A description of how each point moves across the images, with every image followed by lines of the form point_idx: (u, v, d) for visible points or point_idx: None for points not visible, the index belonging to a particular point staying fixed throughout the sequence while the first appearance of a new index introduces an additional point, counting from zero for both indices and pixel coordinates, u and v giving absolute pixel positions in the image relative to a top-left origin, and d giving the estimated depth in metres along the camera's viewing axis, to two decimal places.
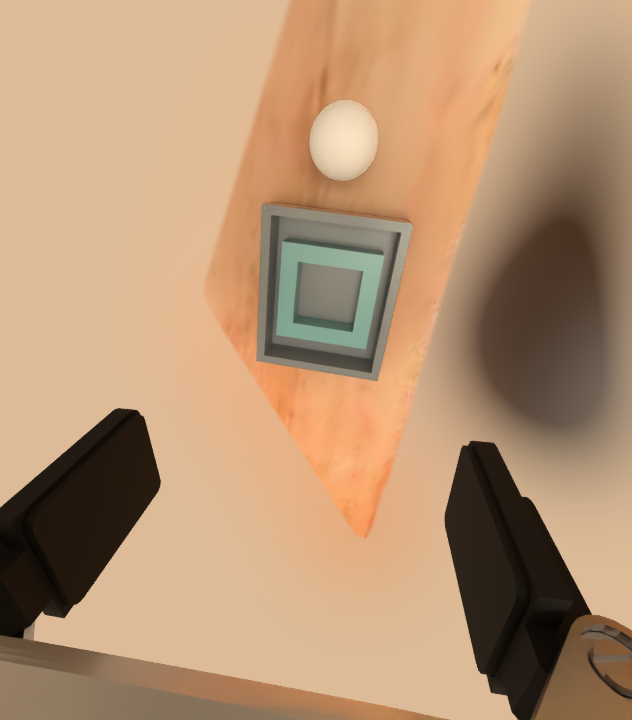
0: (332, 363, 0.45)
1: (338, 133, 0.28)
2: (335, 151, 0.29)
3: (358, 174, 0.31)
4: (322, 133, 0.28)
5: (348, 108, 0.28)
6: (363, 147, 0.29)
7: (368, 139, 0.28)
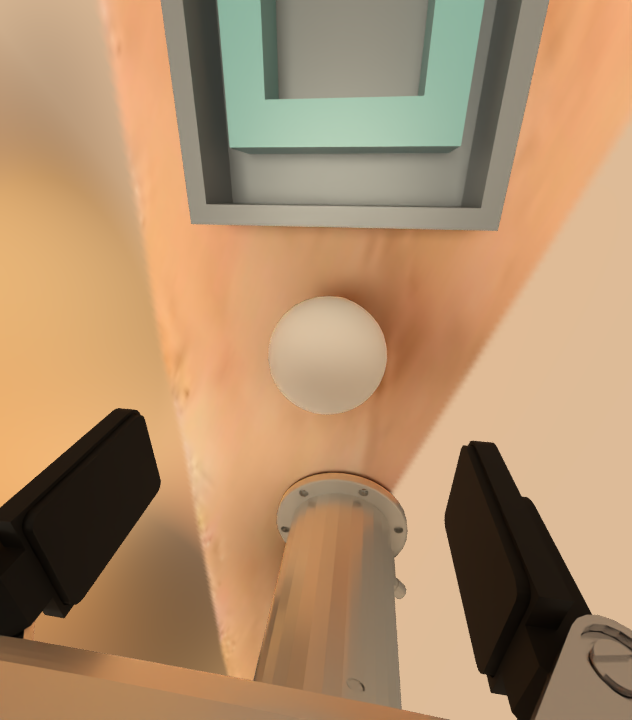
0: None
1: (324, 389, 0.15)
2: (327, 362, 0.15)
3: (290, 314, 0.16)
4: (356, 385, 0.16)
5: (317, 412, 0.17)
6: (281, 365, 0.16)
7: (276, 374, 0.16)
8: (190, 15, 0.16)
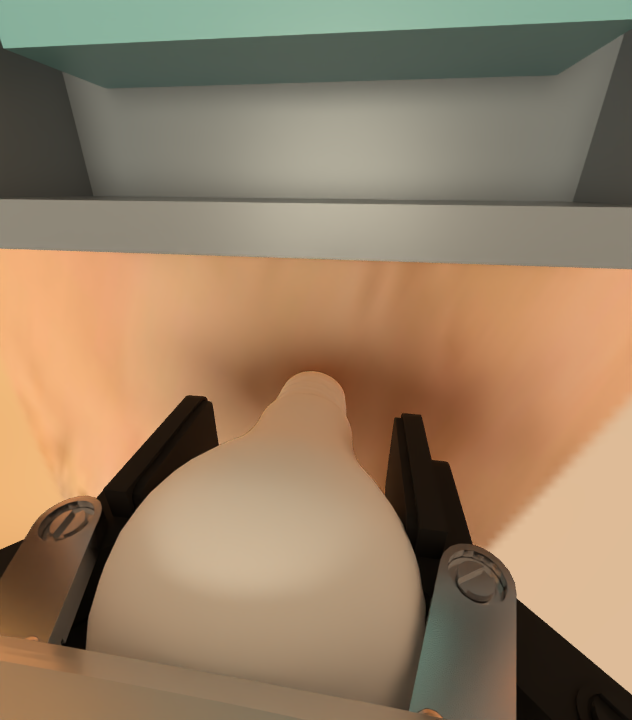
0: None
1: None
2: None
3: (137, 536, 0.05)
4: None
5: None
6: None
7: None
8: None
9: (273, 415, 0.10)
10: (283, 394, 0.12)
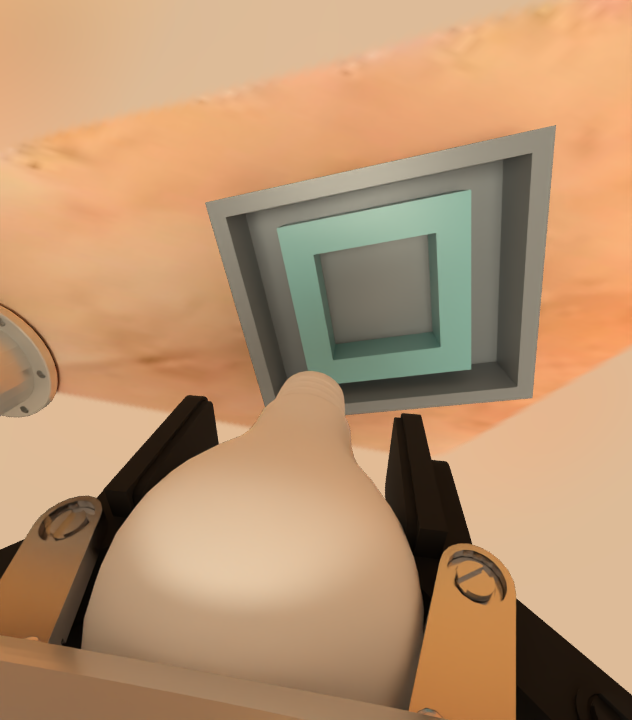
0: (519, 250, 0.21)
1: None
2: None
3: (133, 537, 0.05)
4: None
5: None
6: None
7: None
8: (354, 190, 0.20)
9: (271, 415, 0.10)
10: (282, 394, 0.12)
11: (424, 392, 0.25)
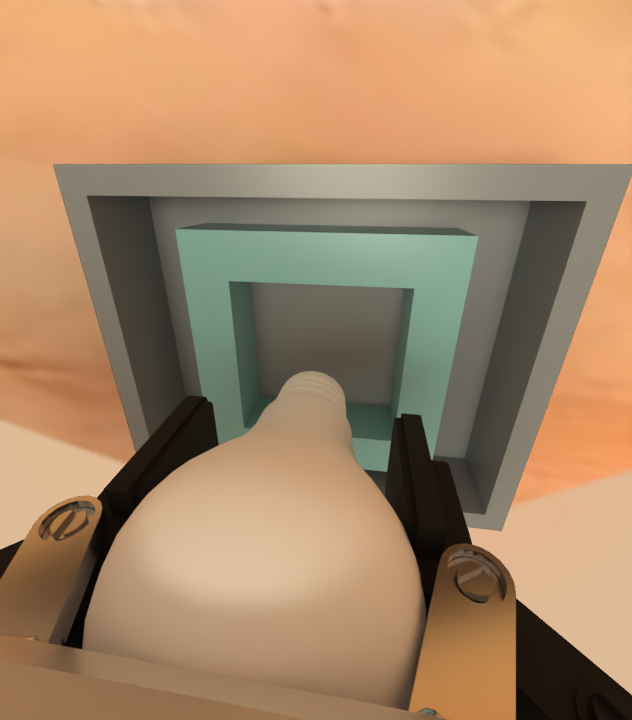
0: (528, 339, 0.14)
1: None
2: None
3: (134, 538, 0.05)
4: None
5: None
6: None
7: None
8: None
9: (272, 415, 0.10)
10: (282, 394, 0.12)
11: None
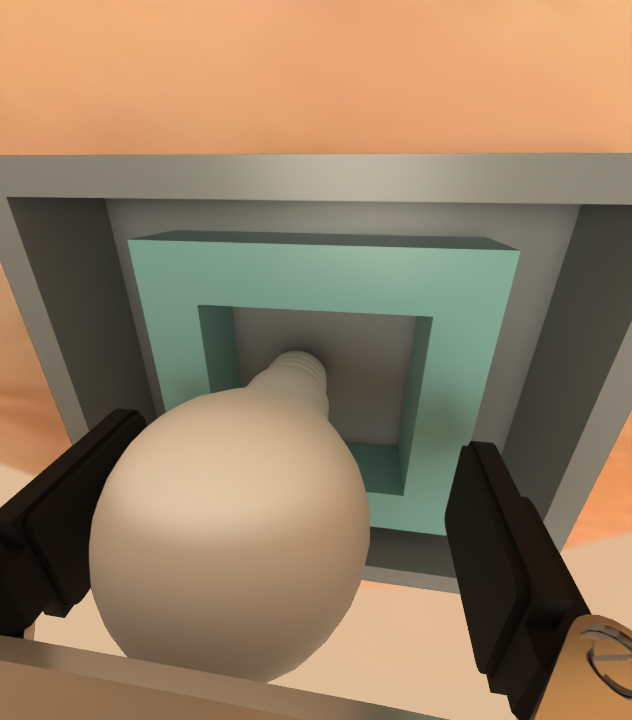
0: (579, 382, 0.11)
1: None
2: (191, 629, 0.05)
3: (133, 451, 0.07)
4: (283, 663, 0.06)
5: None
6: (94, 594, 0.06)
7: None
8: None
9: (256, 381, 0.11)
10: (269, 368, 0.13)
11: None
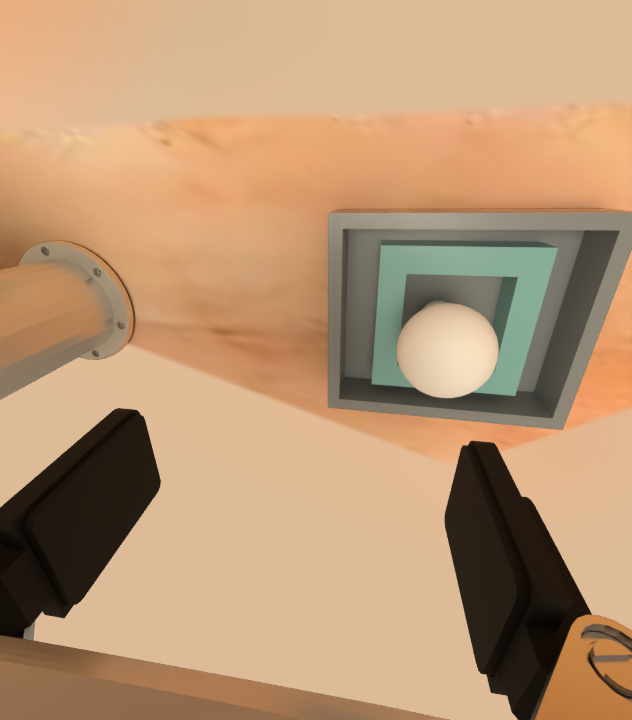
0: (584, 306, 0.24)
1: (453, 377, 0.20)
2: (458, 356, 0.19)
3: (421, 318, 0.21)
4: (478, 375, 0.20)
5: (439, 396, 0.21)
6: (416, 358, 0.20)
7: (410, 365, 0.21)
8: None
9: None
10: None
11: (470, 407, 0.29)
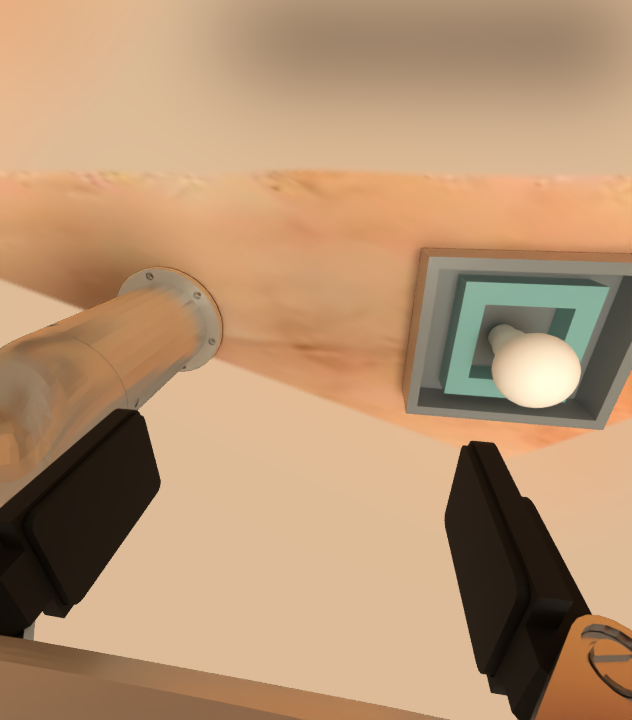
0: (626, 331, 0.30)
1: (554, 393, 0.25)
2: (559, 377, 0.25)
3: (522, 347, 0.26)
4: (571, 390, 0.26)
5: (535, 407, 0.27)
6: (522, 379, 0.26)
7: (514, 384, 0.26)
8: None
9: (511, 334, 0.31)
10: (500, 331, 0.33)
11: (527, 412, 0.35)
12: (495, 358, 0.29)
